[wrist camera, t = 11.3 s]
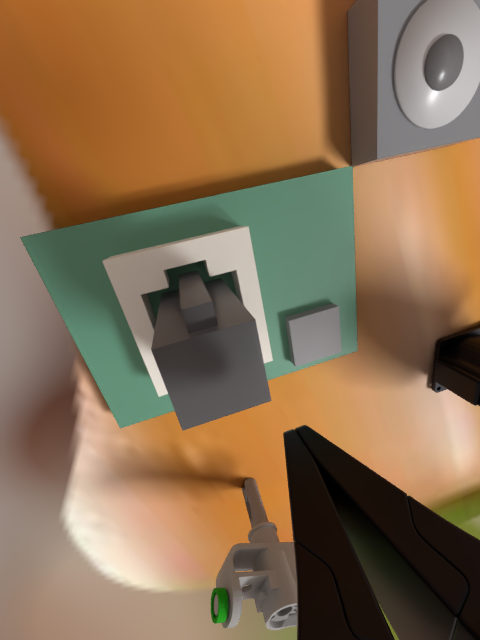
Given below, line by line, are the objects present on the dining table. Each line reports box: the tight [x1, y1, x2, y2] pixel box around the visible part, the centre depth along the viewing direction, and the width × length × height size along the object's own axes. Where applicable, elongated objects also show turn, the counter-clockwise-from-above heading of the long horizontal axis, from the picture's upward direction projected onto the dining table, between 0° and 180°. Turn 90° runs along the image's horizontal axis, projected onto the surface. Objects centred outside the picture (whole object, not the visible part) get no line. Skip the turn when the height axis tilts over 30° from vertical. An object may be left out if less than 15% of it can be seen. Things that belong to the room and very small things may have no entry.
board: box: [21, 166, 358, 428], centre depth 18 cm, size 20×14×4 cm
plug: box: [151, 270, 271, 430], centre depth 14 cm, size 4×5×8 cm
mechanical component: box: [211, 478, 297, 630], centre depth 22 cm, size 3×10×10 cm, turn 69°
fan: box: [347, 0, 480, 167], centre depth 16 cm, size 8×8×3 cm
